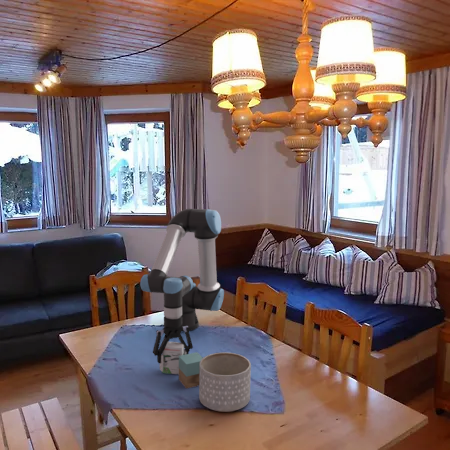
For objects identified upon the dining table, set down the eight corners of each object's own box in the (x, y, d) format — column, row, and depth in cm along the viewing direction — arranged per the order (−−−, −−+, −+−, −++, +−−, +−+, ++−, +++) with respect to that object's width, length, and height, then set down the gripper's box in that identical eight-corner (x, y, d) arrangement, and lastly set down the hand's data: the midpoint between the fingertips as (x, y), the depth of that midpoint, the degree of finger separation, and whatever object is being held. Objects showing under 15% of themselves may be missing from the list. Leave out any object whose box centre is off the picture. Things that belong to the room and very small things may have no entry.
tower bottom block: (197, 375, 173) (197, 363, 173) (205, 384, 166) (205, 372, 166) (178, 379, 170) (178, 367, 169) (186, 389, 163) (186, 376, 162)
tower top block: (197, 363, 173) (197, 352, 172) (205, 372, 166) (205, 360, 165) (178, 367, 169) (178, 355, 168) (186, 376, 162) (186, 364, 162)
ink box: (161, 373, 174) (161, 346, 173) (164, 367, 179) (164, 341, 178) (182, 374, 173) (182, 347, 172) (184, 368, 178) (184, 342, 177)
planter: (210, 383, 167) (210, 349, 165) (255, 392, 160) (256, 357, 158) (190, 408, 149) (190, 370, 147) (240, 420, 143) (241, 380, 141)
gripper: (194, 309, 181) (194, 358, 184) (144, 316, 172) (144, 368, 175) (201, 315, 175) (201, 366, 178) (149, 322, 165) (149, 376, 168)
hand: (173, 367), depth 176 cm, fingers closed on ink box, 9 cm apart
